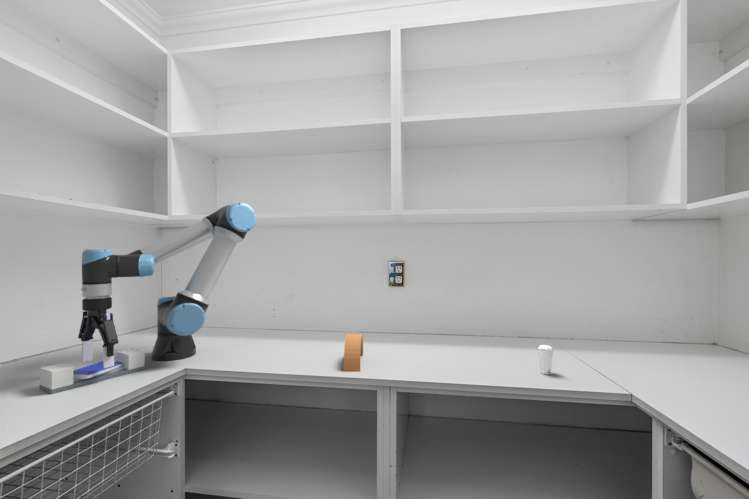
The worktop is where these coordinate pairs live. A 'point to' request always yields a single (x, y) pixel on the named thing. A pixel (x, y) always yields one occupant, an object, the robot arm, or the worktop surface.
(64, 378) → the rail board
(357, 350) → the arch
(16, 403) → the worktop surface
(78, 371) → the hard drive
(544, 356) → the milkshake
